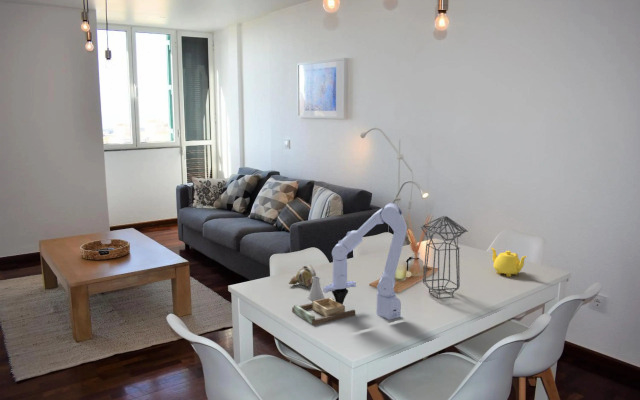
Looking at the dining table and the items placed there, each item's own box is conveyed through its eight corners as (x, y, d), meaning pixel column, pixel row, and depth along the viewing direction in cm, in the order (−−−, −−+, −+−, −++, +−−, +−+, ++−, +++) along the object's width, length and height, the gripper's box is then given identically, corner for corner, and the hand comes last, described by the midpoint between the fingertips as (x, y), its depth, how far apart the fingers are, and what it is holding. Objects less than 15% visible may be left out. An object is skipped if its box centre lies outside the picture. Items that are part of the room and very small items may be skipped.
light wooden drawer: (344, 314, 208) (344, 305, 207) (327, 318, 204) (327, 309, 203) (329, 305, 217) (329, 297, 217) (312, 309, 213) (312, 301, 212)
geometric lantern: (432, 302, 224) (436, 220, 218) (416, 290, 239) (419, 213, 233) (466, 299, 228) (470, 218, 222) (448, 287, 243) (451, 211, 237)
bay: (355, 317, 208) (355, 307, 207) (313, 327, 198) (313, 317, 197) (332, 304, 221) (332, 295, 221) (292, 313, 211) (292, 304, 210)
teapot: (534, 275, 262) (536, 252, 260) (517, 281, 253) (519, 257, 251) (499, 266, 277) (500, 244, 275) (481, 271, 268) (483, 248, 266)
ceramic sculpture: (321, 262, 250) (308, 273, 237) (321, 280, 252) (309, 291, 239) (300, 260, 254) (286, 270, 241) (300, 277, 256) (287, 289, 243)
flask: (314, 296, 231) (314, 273, 230) (327, 299, 227) (328, 277, 225) (303, 300, 226) (303, 277, 224) (317, 304, 221) (317, 281, 220)
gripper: (349, 268, 218) (348, 300, 220) (318, 274, 210) (318, 306, 213) (359, 272, 212) (358, 305, 214) (328, 278, 205) (328, 312, 207)
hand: (339, 306), depth 213 cm, fingers closed
